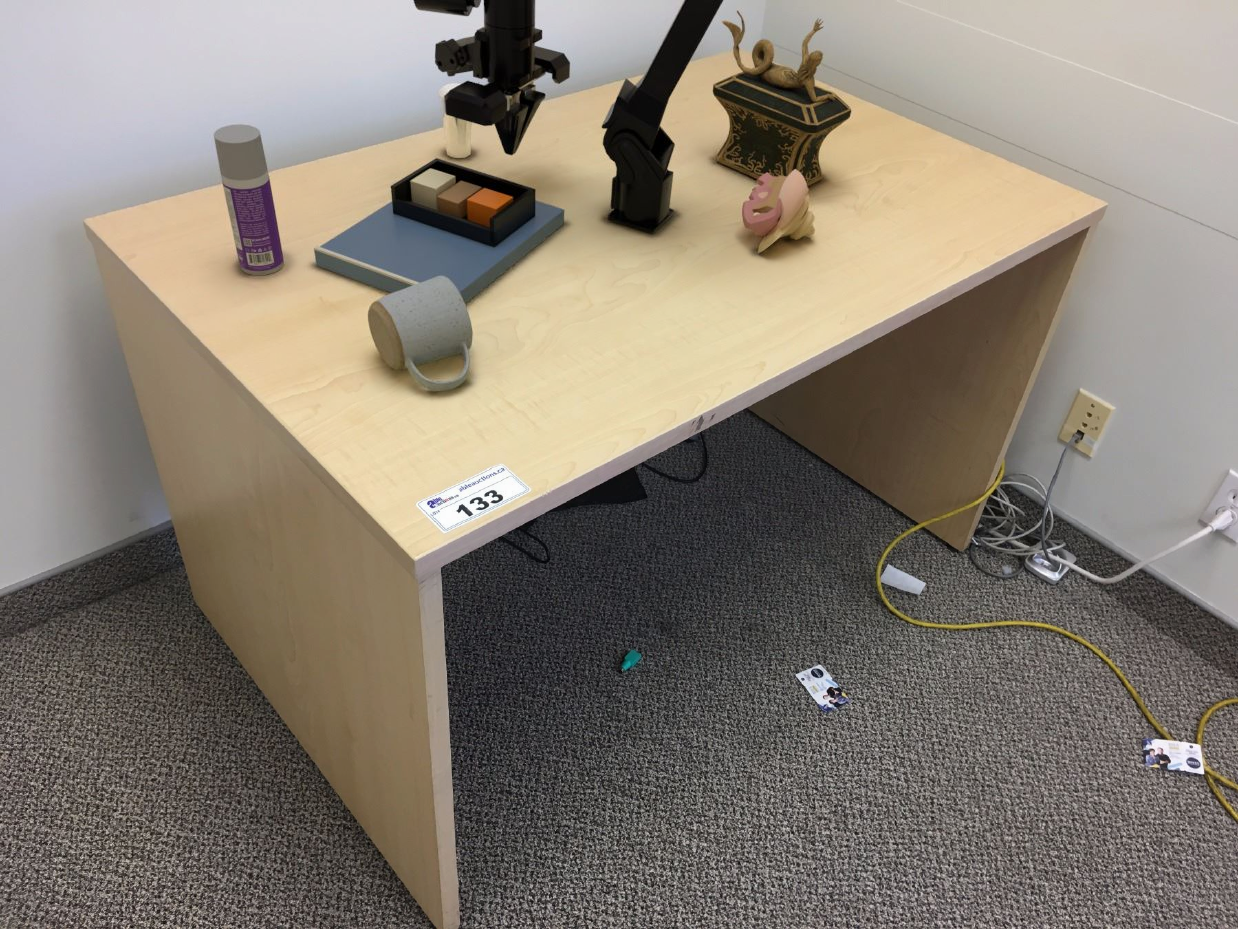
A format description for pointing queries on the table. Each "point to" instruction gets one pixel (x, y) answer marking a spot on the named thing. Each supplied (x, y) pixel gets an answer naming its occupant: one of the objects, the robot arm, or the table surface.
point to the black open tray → (464, 201)
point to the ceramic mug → (422, 328)
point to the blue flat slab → (428, 251)
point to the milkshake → (455, 129)
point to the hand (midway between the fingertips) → (510, 153)
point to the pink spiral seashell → (779, 208)
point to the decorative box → (777, 112)
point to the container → (249, 198)
